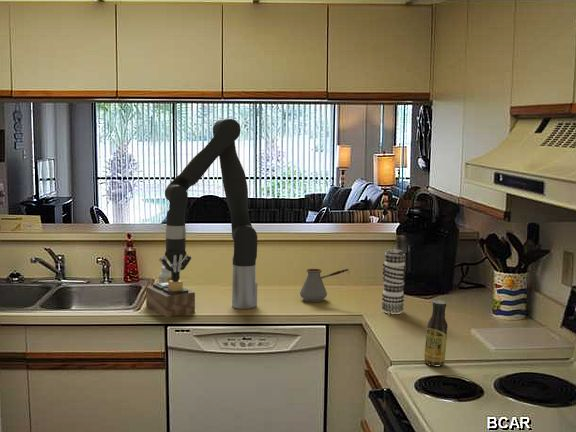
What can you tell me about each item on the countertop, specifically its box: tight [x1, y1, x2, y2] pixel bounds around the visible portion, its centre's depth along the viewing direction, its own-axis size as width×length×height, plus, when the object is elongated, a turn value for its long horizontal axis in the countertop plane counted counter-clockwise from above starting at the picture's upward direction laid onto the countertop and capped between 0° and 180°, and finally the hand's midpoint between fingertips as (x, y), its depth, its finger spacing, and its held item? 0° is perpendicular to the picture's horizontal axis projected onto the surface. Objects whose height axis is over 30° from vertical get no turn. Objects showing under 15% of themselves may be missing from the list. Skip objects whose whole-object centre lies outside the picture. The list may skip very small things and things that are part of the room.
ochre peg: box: [168, 279, 184, 291], centre depth 257 cm, size 4×4×8 cm
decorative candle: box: [381, 248, 407, 313], centre depth 264 cm, size 9×9×25 cm
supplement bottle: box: [158, 265, 172, 283], centre depth 281 cm, size 7×7×13 cm
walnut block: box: [145, 282, 196, 318], centre depth 261 cm, size 12×18×9 cm, turn 36°
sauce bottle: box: [423, 300, 449, 366], centre depth 206 cm, size 6×6×20 cm
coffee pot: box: [299, 268, 351, 303], centre depth 279 cm, size 21×12×15 cm, turn 65°
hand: (175, 281), depth 257 cm, fingers closed
